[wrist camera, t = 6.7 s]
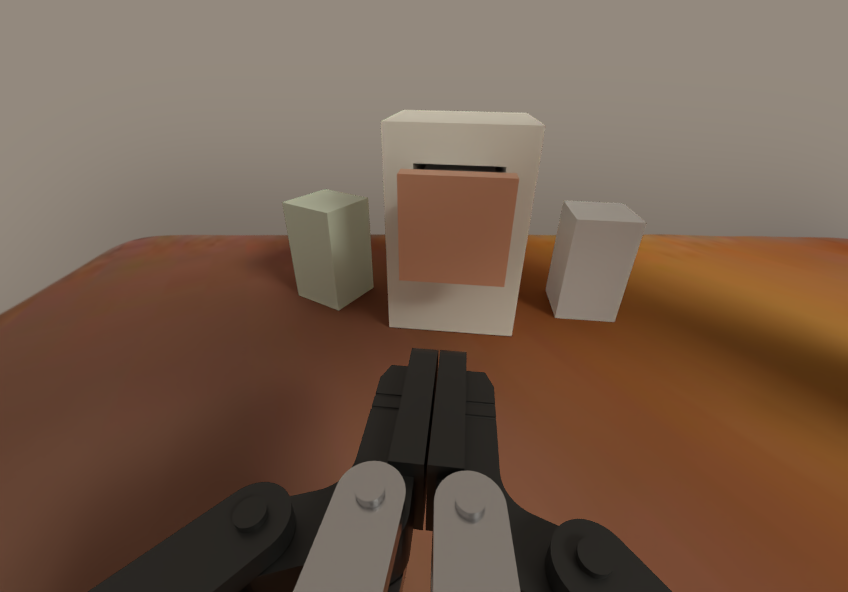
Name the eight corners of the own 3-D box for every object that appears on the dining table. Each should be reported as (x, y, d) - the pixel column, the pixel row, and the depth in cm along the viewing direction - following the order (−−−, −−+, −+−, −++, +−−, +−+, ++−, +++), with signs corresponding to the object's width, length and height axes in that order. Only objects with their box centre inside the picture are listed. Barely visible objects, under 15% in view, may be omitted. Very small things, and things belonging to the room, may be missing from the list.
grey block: (597, 293, 33) (623, 203, 29) (614, 322, 29) (646, 222, 25) (545, 290, 34) (563, 200, 29) (554, 317, 30) (577, 219, 26)
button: (418, 225, 30) (419, 144, 27) (495, 229, 29) (505, 147, 26) (399, 280, 22) (396, 173, 19) (504, 287, 21) (519, 178, 18)
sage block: (373, 287, 33) (368, 197, 29) (338, 310, 30) (326, 213, 26) (335, 274, 35) (325, 189, 31) (298, 295, 32) (281, 202, 28)
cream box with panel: (405, 277, 35) (403, 109, 28) (503, 283, 34) (527, 113, 27) (389, 326, 28) (380, 121, 21) (511, 336, 27) (545, 125, 20)
